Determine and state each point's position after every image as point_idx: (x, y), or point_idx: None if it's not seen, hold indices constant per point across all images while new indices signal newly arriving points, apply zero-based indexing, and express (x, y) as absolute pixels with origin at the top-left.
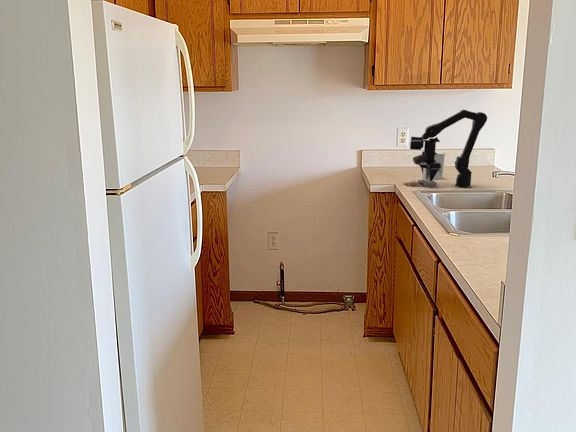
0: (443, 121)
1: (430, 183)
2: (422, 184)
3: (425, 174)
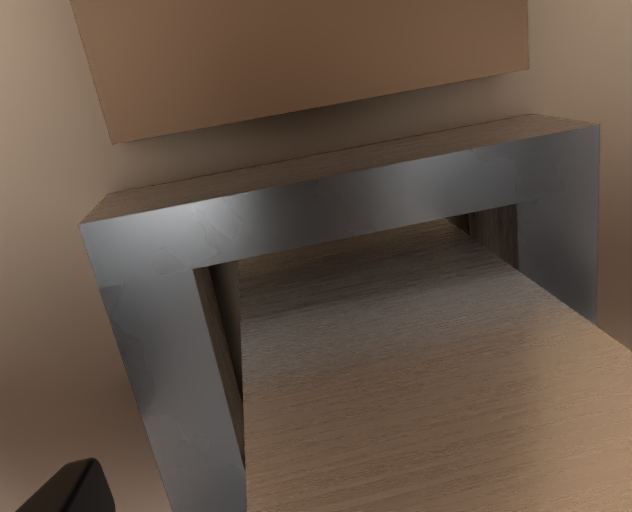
0: None
1: (150, 420)
2: (195, 186)
3: (290, 463)
